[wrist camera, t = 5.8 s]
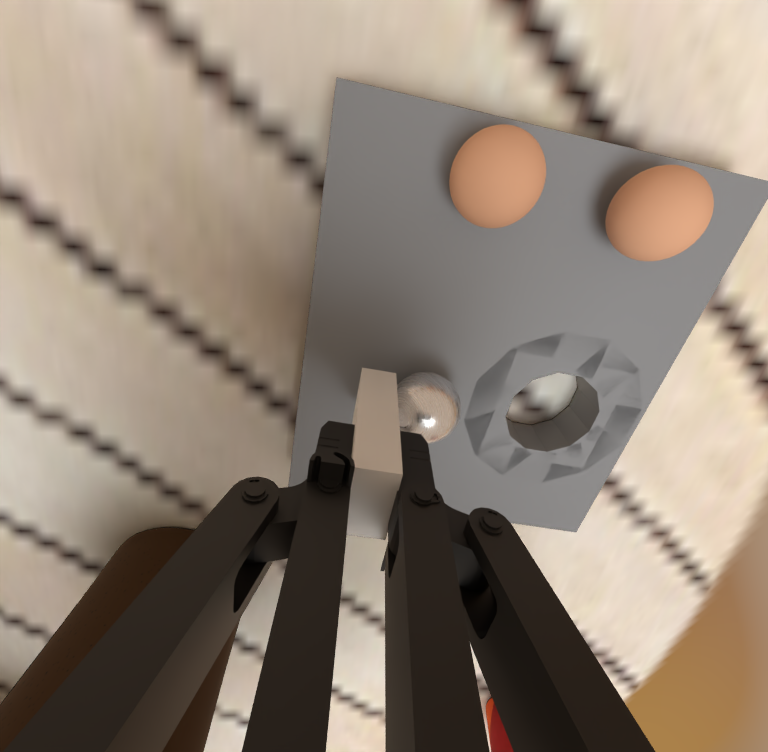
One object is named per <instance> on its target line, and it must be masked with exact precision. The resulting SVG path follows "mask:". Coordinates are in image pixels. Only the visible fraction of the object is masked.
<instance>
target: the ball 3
mask: <svg viewBox="0 0 768 752" xmlns="http://www.w3.org/2000/svg"><path fill="white" fill-rule="evenodd" d="M713 208H714V198H713V193H712V190H711V187H710V186H709V184H708V182H707V181H706V179H705V178H704V177H703V176H702V175H700V174H699V173H698V172H696V171H695V170H693V169H690V168H688V167H685V166H680V165H662V166H656V167H653V168H650V169H647V170H645V171H642V172H640V173H639V174H637V175H635V176H634V177H632V178H631V179H629V180H628V181H627V182H626V183H625V184H623V186H622V187H621V188H620V189H619V190H618V191H617V193H616V194H615V195H614V197H613V199H612V200H611V202H610V204H609V207H608V210H607V214H606V221H605V224H606V233H607V236H608V238H609V240H610V242H611V244H612V245H613V247H614V248H615V249H616V250H617V251H619V252H620V253H621V254H623V255H624V256H626V257H629V258H631V259H634V260H638V261H659V260H663V259H667V258H670V257H673V256H675V255H677V254H679V253H681V252H683V251H684V250H686V249H687V248H689V247H690V246H691V245H692V244H694V243H695V242H696V241H697V240H698V239H699V238H700V236H701V235H702V234H703V233H704V231H705V230H706V228H707V226H708V224H709V222H710V220H711V217H712V214H713Z"/></svg>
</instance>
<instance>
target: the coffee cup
mask: <svg viewBox="0 0 768 752" xmlns="http://www.w3.org/2000/svg"><path fill="white" fill-rule="evenodd" d="M486 713H487V722H488V730H489V738H490V745H491V752H514V751H513V749H512V746H511V744H510V741H509V739H508V736H507V734H506V731H505V729H504V726H503V724H502V721H501V719H500V716H499V714H498V711H497V709H496V706H495V704H494V701H493V699H492V697H491V698H490V699H489V701H488V702H487V704H486Z"/></svg>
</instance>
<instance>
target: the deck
mask: <svg viewBox="0 0 768 752" xmlns="http://www.w3.org/2000/svg"><path fill="white" fill-rule="evenodd" d="M501 124H507V125H514V126H517V127H520V128H522V129H524V130H525V131H527V132H528V133H530V134H531V135H532V136H533V137H534V138H535V139H536V140H537V142H538V143H539V145H540V147H541V149H542V151H543V154H544V157H545V162H546V179H545V184H544V188H543V190H542V193H541V195H540V197H539V199H538V201H537V202H536V204H535V205H534V207H533V208H532V209H531V210H530V211H529V212H528V213H527V214H526V215H525V216H524V217H523V218H521V219H520V220H518V221H517V222H515V223H513V224H510V225H508V226H505V227H501V228H484V227H480V226H477V225H474V224H472V223H471V222H469V221H467V220H466V219H465V218H464V217H463V216H462V215H461V214H460V213H459V212H458V210H457V208H456V207H455V205H454V203H453V201H452V197H451V194H450V186H449V179H450V171H451V167H452V164H453V161H454V159H455V157H456V155H457V153H458V151H459V150H460V148H461V147H462V146H463V144H464V143H465V142H466V141H467V140H468V139H469V138H470V137H472V136H473V135H474V134H475V133H477V132H479V131H480V130H482V129H484V128H487V127H490V126H494V125H501ZM662 165H680V166H685V167H688V168H690V169H693V170H695V171H696V172H698V173H699V174H700V175H702V176H703V177H704V178H705V179H706V181H707V182H708V184H709V186H710V187H711V190H712V193H713V198H714V208H713V214H712V217H711V220H710V222H709V224H708V226H707V228H706V230H705V231H704V233H703V234H702V235H701V236H700V238H699V239H698V240H697V241H696V242H695V243H694V244H692V245H691V246H690V247H689V248H687V249H686V250H684V251H683V252H681V253H679V254H677V255H675V256H673V257H670V258H667V259H663V260H659V261H638V260H634V259H631V258H629V257H626V256H624V255H623V254H621V253H620V252H619V251H617V250H616V249H615V248H614V247H613V245H612V244H611V242H610V240H609V238H608V236H607V233H606V224H605V221H606V214H607V210H608V207H609V204H610V202H611V200H612V199H613V197H614V195H615V194H616V193H617V191H618V190H619V189H620V188H621V187H622V186H623V184H625V183H626V182H627V181H628V180H629V179H631V178H632V177H634V176H635V175H637V174H639V173H640V172H642V171H645V170H647V169H650V168H653V167H656V166H662ZM767 199H768V181H766V180H761V179H757V178H753V177H749V176H745V175H741V174H736V173H732V172H728V171H724V170H720V169H716V168H712V167H707V166H703V165H699V164H695V163H691V162H687V161H682V160H678V159H674V158H670V157H666V156H662V155H657V154H653V153H649V152H645V151H641V150H637V149H632V148H628V147H624V146H620V145H616V144H612V143H608V142H603V141H599V140H595V139H591V138H587V137H583V136H578V135H574V134H570V133H566V132H562V131H558V130H553V129H549V128H545V127H541V126H537V125H533V124H529V123H524V122H520V121H516V120H512V119H508V118H504V117H499V116H495V115H491V114H487V113H483V112H479V111H474V110H470V109H466V108H462V107H458V106H454V105H449V104H445V103H441V102H437V101H433V100H429V99H425V98H420V97H416V96H412V95H408V94H404V93H400V92H395V91H391V90H387V89H383V88H379V87H375V86H370V85H366V84H362V83H358V82H354V81H350V80H345V79H341V78H336V86H335V95H334V103H333V112H332V120H331V129H330V137H329V146H328V154H327V163H326V171H325V180H324V188H323V197H322V205H321V214H320V222H319V231H318V239H317V248H316V256H315V265H314V273H313V282H312V290H311V299H310V307H309V316H308V324H307V333H306V341H305V350H304V358H303V367H302V375H301V384H300V392H299V401H298V409H297V418H296V426H295V435H294V443H293V452H292V460H291V469H290V477H289V486H288V487H292V486H296V485H298V484H300V483H302V482H303V481H305V480H306V479H307V475H308V467H309V460H310V458H311V456H312V455H313V454H314V453H315V451H316V447H317V443H318V438H319V434H320V430H321V427H322V426H323V425H324V424H325V423H327V422H328V421H335V422H341V423H348V424H352V421H353V415H354V410H355V404H356V399H357V393H358V388H359V382H360V377H361V371H362V368H368V369H374V370H380V371H386V372H392V373H396V378H397V385H398V384H399V383H400V382H401V381H402V380H403V379H404V378H406V377H407V376H409V375H412V374H414V373H419V372H431V373H436V374H438V375H441V376H443V377H444V378H446V379H447V380H448V381H450V382H451V383H452V384H453V386H454V387H455V388H456V390H457V392H458V394H459V397H460V401H461V416H460V419H459V422H458V424H457V426H456V428H455V429H454V430H453V432H452V433H451V434H450V435H448V436H447V437H446V438H444V439H443V440H441V441H438V442H435V443H430V444H428V447H429V454H430V459H431V461H430V462H431V465H432V471H433V477H434V483H435V489H436V490H437V491H438V492H439V493H440V494H441V495H442V498H443V500H444V503H445V504H447V505H448V506H450V507H451V508H453V509H456V510H458V511H460V512H463V513H465V514H468V515H469V514H470V512H472V511H473V510H474V509H476V508H480V507H483V508H490V509H492V510H495V511H497V512H499V513H500V514H502V515H503V516H505V517H506V519H507V520H508V521H509V522H510V523H515V524H522V525H529V526H536V527H543V528H550V529H557V530H564V531H571V532H577V530H578V528H579V526H580V525H581V523H582V521H583V519H584V518H585V516H586V514H587V512H588V511H589V509H590V507H591V506H592V504H593V502H594V500H595V499H596V497H597V495H598V493H599V492H600V490H601V488H602V486H603V485H604V483H605V481H606V479H607V478H608V476H609V474H610V472H611V471H612V469H613V467H614V465H615V464H616V462H617V460H618V458H619V457H620V455H621V453H622V452H623V450H624V448H625V446H626V445H627V443H628V441H629V439H630V438H631V436H632V434H633V432H634V431H635V429H636V427H637V425H638V424H639V422H640V420H641V418H642V417H643V415H644V413H645V411H646V410H647V408H648V406H649V404H650V403H651V401H652V399H653V398H654V396H655V394H656V392H657V391H658V389H659V387H660V385H661V384H662V382H663V380H664V378H665V377H666V375H667V373H668V371H669V370H670V368H671V366H672V364H673V363H674V361H675V359H676V357H677V356H678V354H679V352H680V350H681V349H682V347H683V345H684V344H685V342H686V340H687V338H688V337H689V335H690V333H691V331H692V330H693V328H694V326H695V324H696V323H697V321H698V319H699V317H700V316H701V314H702V312H703V310H704V309H705V307H706V305H707V303H708V302H709V300H710V298H711V297H712V295H713V293H714V291H715V290H716V288H717V286H718V284H719V283H720V281H721V279H722V277H723V276H724V274H725V272H726V270H727V269H728V267H729V265H730V263H731V262H732V260H733V258H734V256H735V255H736V253H737V251H738V249H739V248H740V246H741V244H742V243H743V241H744V239H745V237H746V236H747V234H748V232H749V230H750V229H751V227H752V225H753V223H754V222H755V220H756V218H757V216H758V215H759V213H760V211H761V209H762V208H763V206H764V204H765V202H766V201H767ZM555 373H563V374H569V375H574V376H576V378H577V385H578V388H577V390H576V392H575V395H574V397H573V399H572V401H571V403H570V405H569V406H568V407H567V408H566V409H565V410H563V411H562V412H561V413H560V414H558V415H557V416H556V417H555V418H553V419H552V420H548V421H545V422H541V423H537V424H534V425H527V424H521V423H515V422H511V421H510V420H509V419H507V418H506V414H507V412H508V409H509V407H510V404H511V402H512V399H513V397H514V396H515V395H516V394H517V393H518V392H519V391H521V390H522V389H523V388H524V387H525V386H526V385H528V384H529V383H530V382H531V381H532V380H534V379H538V378H541V377H545V376H548V375H552V374H555Z"/></svg>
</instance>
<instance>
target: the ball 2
mask: <svg viewBox="0 0 768 752" xmlns="http://www.w3.org/2000/svg"><path fill="white" fill-rule="evenodd" d="M545 179H546V162H545V157H544V154H543V151H542V149H541V147H540V145H539V143H538V142H537V140H536V139H535V138H534V137H533V136H532V135H531V134H530V133H528V132H527V131H525V130H524V129H522V128H520V127H517V126H514V125H507V124H501V125H494V126H490V127H487V128H484V129H482V130H480V131H479V132H477V133H475V134H474V135H473V136H472V137H470V138H469V139H468V140H467V141H466V142H465V143H464V144H463V146H462V147H461V148H460V150H459V151H458V153H457V155H456V157H455V159H454V161H453V164H452V167H451V171H450V179H449V186H450V194H451V197H452V201H453V203H454V205H455V207H456V208H457V210H458V212H459V213H460V214H461V215H462V216H463V217H464V218H465V219H466V220H467V221H469V222H471V223H472V224H474V225H477V226H480V227H484V228H501V227H505V226H508V225H510V224H513V223H515V222H517V221H518V220H520V219H521V218H523V217H524V216H525V215H526V214H527V213H528V212H529V211H530V210H531V209H532V208H533V207H534V205H535V204H536V202H537V201H538V199H539V197H540V195H541V193H542V190H543V188H544V184H545Z"/></svg>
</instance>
